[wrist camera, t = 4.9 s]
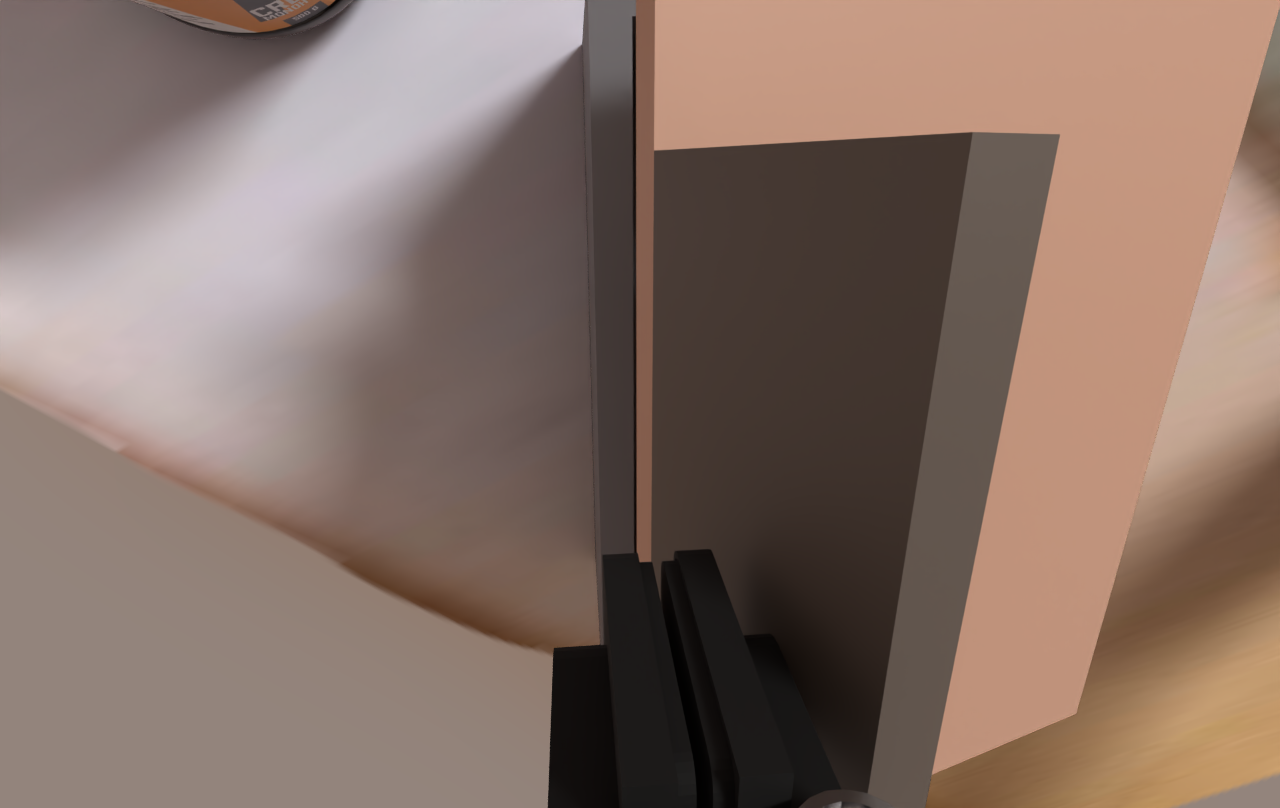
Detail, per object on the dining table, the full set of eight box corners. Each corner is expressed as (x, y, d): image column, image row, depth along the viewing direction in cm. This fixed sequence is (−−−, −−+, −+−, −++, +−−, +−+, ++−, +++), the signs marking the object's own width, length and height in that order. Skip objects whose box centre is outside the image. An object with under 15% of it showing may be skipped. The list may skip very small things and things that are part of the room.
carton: (997, 50, 25) (1244, -18, 16) (916, 544, 33) (1052, 695, 23) (582, 43, 24) (587, -37, 15) (595, 561, 31) (604, 728, 22)
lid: (1248, -19, 16) (1841, -144, 10) (1054, 697, 23) (1315, 895, 17) (635, -123, 10) (1087, -594, 4) (637, 866, 18) (794, 1257, 11)
